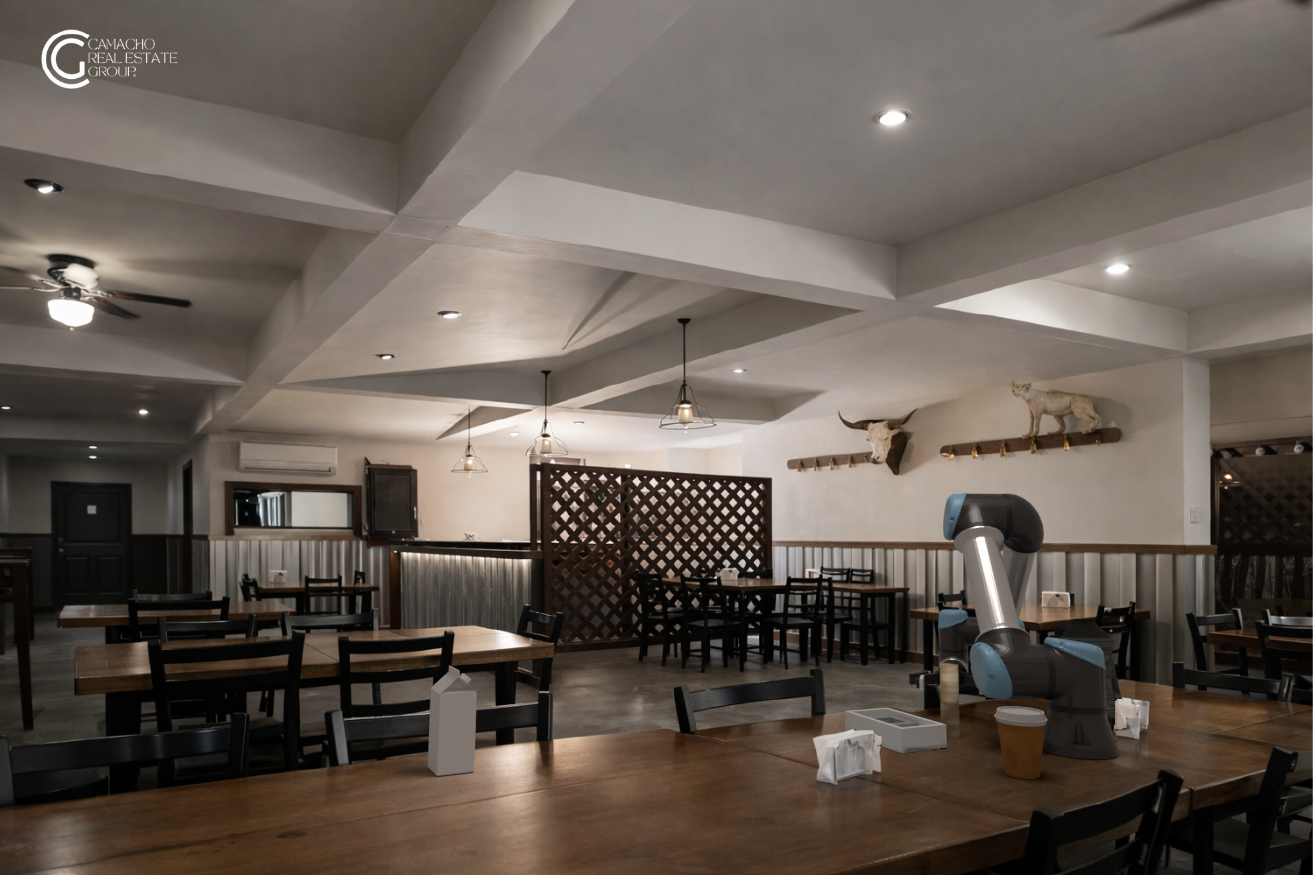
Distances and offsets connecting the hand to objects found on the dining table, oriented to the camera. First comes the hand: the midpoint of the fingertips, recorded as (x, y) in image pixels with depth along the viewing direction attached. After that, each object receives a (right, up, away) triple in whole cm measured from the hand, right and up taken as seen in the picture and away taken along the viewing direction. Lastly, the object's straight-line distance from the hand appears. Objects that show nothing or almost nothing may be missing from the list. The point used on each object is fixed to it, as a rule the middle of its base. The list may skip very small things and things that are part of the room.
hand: (950, 686), depth 216 cm
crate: (-18, -8, -15) cm, 24 cm away
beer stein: (+35, -11, +7) cm, 37 cm away
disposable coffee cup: (0, -5, -42) cm, 43 cm away
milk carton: (-109, -4, -44) cm, 118 cm away
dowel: (-3, -9, -10) cm, 14 cm away
